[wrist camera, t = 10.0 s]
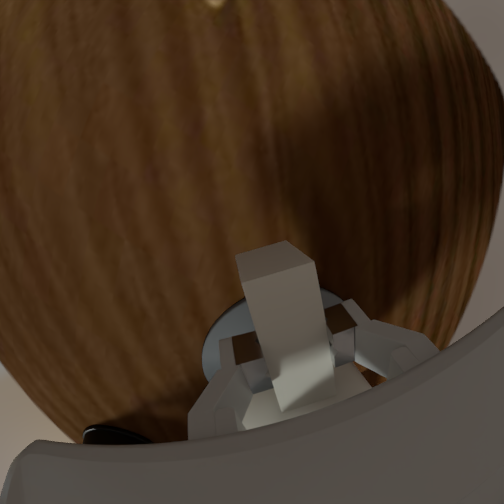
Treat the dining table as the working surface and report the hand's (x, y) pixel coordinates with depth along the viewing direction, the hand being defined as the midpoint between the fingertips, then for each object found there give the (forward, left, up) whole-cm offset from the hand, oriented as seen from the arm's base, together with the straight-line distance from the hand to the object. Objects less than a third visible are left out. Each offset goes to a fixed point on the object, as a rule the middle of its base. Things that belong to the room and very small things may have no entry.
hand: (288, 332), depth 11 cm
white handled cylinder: (-5, 0, -6) cm, 8 cm away
